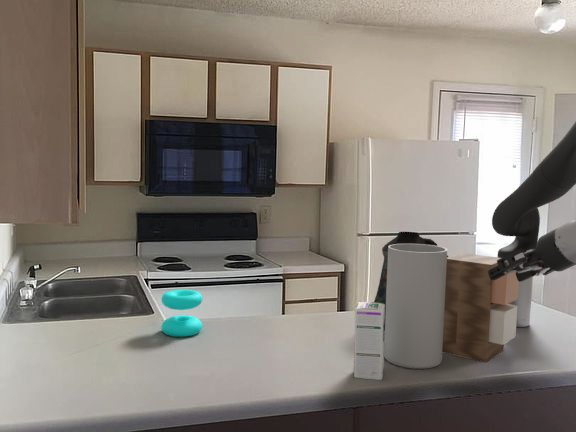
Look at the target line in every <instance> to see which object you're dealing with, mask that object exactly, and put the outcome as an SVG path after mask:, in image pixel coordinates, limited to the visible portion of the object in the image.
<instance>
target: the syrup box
mask: <svg viewBox="0 0 576 432" xmlns="http://www.w3.org/2000/svg"><path fill="white" fill-rule="evenodd" d="M384 319H385V304H383V303H377V302H374V301H358V302H357V304H356V306H355V310H354V351H353V352H354V353H353V354H354V359H353V363H354V364H353V376H354V378H356V379H362V380H363V379H364V380H374V381H375V380H378V381H382V379H383V377H384V370H385V369H384V365H385V363H384V362H385V356H384V341H385V331H384Z"/></svg>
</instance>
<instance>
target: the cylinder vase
mask: <svg viewBox="0 0 576 432" xmlns="http://www.w3.org/2000/svg"><path fill="white" fill-rule="evenodd" d="M447 255H448V248H447V247H443V246H438V245H437V246H434V245H425V244H394V245H389V246H388V265H387V290H386V316H385V331H384V359H385V360H387V361H388V362H389V363H391V364H393V365H395V366H399V367H402V368H407V369H415V370H417V369H419V370H420V369H421V370H423V369H431V368H435V367H437V366H439V365H440V364H441V363H442V360H443V352H442V346H443V326H444V306H445V286H446V265H447Z"/></svg>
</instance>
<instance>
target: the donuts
mask: <svg viewBox="0 0 576 432" xmlns="http://www.w3.org/2000/svg"><path fill="white" fill-rule="evenodd" d="M202 302H203V296H202V294H201V293H200V292H199V291H197V290H191V289H174V290H170V291H167V292H165V293H163V295H162V296H161V303H162V305H163V306H165V308H168V309H170V310H178V311H185V310H192V309H195V308H196V307H199V306H200V305H201V304H202ZM202 329H203V323H202V321H201V320H200V319H199V318H197V317H196V316H192V315H184V314H183V315H175V316H170V317H169V318H166V319H165V320H164V321H163V322H162V324H161V331H162V332H163V334H165V335H167V336H170V337H174V338H175V337H176V338H186V337H192V336H196V335H197V334H199V333H201V331H202Z"/></svg>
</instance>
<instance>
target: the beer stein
mask: <svg viewBox="0 0 576 432" xmlns="http://www.w3.org/2000/svg"><path fill="white" fill-rule="evenodd" d="M394 244H425V245H434V246H438V244H437V242H435V241H434V240H433V239H431V238H426V237H425V238H424V237H422V236H420V233H419V232H417V231H416V232H415V231H399V232H398V234H397V236H396V237H394V238H392V239H391V240H390V241H387V243H386V244H384V246H383V247H382V248H381V250H382V255H383V262H382V267H381V272H380V278H379V284H378V286H377V291H376V294H375V298H374V301H373V302H377V303H383V304H385V316H386V290H387V265H388V246H389V245H394ZM447 257H449V255H448V254H447ZM384 332H385V319H384Z"/></svg>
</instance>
